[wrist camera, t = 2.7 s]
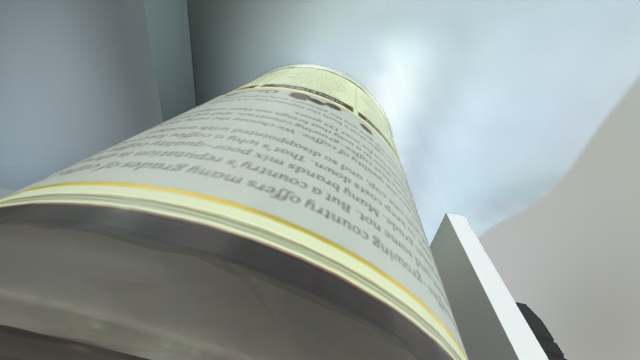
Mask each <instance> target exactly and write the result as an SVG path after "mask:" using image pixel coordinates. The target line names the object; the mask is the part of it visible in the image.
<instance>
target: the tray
mask: <svg viewBox="0 0 640 360" xmlns="http://www.w3.org/2000/svg"><path fill="white" fill-rule="evenodd" d="M195 107H196V98H195V87H194V75H193V64H192V53H191V42H190V31H189V19H188V8H187V0H0V199H1V198H3V197H5V196H7V195H9V194H12V193H14V192H16V191H18V190H20V189H22V188H24V187H26V186H29V185H31V184H33V183H35V182H37V181H39V180H41V179H43V178H46V177H48V176H50V175H52V174H54V173H56V172H58V171H61V170H63V169H65V168H67V167H69V166H71V165H73V164H76V163H78V162H80V161H82V160H84V159H86V158H88V157H91V156H93V155H95V154H97V153H99V152H101V151H103V150H106V149H108V148H110V147H112V146H114V145H116V144H118V143H121V142H123V141H125V140H127V139H129V138H131V137H133V136H136V135H138V134H140V133H142V132H144V131H146V130H148V129H151V128H153V127H155V126H157V125H159V124H161V123H163V122H166V121H168V120H170V119H172V118H174V117H176V116H178V115H180V114H183V113H185V112H187V111H189V110H191V109H193V108H195Z"/></svg>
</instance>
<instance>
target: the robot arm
mask: <svg viewBox="0 0 640 360" xmlns="http://www.w3.org/2000/svg"><path fill="white" fill-rule="evenodd" d="M430 249H431V252H432V255H433V258H434V261H435V264H436V267H437V270H438V273H439V276H440V279H441V282H442V285H443V288H444V290H445V293H446V296H447V299H448V302H449V305H450V308H451V311H452V314H453V317H454V319H455V322H456V325H457V328H458V331H459V334H460V337H461V340H462V343H463V346H464V348H465V351H466V354H467V357H468V360H567V359H564V355H563V353H562V351H561V350H560V348H559V347H558V345H557V344H556V343H554V341H553V340H554V339H553V337H552V336H551V334H550V333H549V331H548V330H547V328H546V326H545V325H544V323H543V322H542V320H541V319H539V317H538V316H537V315H536V314H535V313H533V311H532V310H531V309H530V308H529V307H527V305H526V304H521V303H517V302H515V301H514V300H513V298H512V296H511V295H510V293H509V291H508V290H507V288H506V286H505V285H504V283H503V281H502V279H501V278H500V276H499V274H498V273H497V271H496V269H495V267H494V266H493V264H492V262H491V261H490V259H489V257H488V256H487V254H486V252H485V250H484V249H483V247H482V245H481V244H480V242H479V240H478V239H477V237H476V235H475V233H474V232H473V230H472V228H471V227H470V225H469V223H468V222H467V220H466V218H465V216H460V215H455V214H450V213H446V214H445V216H444V218H443V220H442V222H441V225H440V227H439V229H438V231H437V233H436V235H435V237H434V239H433V241H432V243H431V245H430Z"/></svg>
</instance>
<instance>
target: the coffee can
mask: <svg viewBox="0 0 640 360" xmlns="http://www.w3.org/2000/svg"><path fill="white" fill-rule="evenodd" d="M0 360H468V357H467V354H466V351H465V348H464V346H463V343H462V340H461V337H460V334H459V331H458V328H457V325H456V322H455V319H454V317H453V314H452V311H451V308H450V305H449V302H448V299H447V296H446V293H445V290H444V288H443V285H442V282H441V279H440V276H439V273H438V270H437V267H436V264H435V261H434V258H433V255H432V252H431V249H430V247H429V244H428V241H427V238H426V235H425V232H424V230H423V227H422V224H421V221H420V218H419V215H418V212H417V209H416V206H415V203H414V200H413V197H412V194H411V191H410V188H409V185H408V182H407V179H406V176H405V173H404V171H403V168H402V165H401V162H400V159H399V156H398V153H397V150H396V147H395V144H394V141H393V139H392V132H391V128H390V125H389V122H388V119H387V117H386V115H385V113H384V111H383V109H382V107H381V106H380V104H379V103H378V102H377V100H376V99H375V97H374V96H373V95H372V94H371V93H370V92H369V91H368V90H367V89H366V88H365V87H364V86H363V85H362V84H360V83H359V82H358V81H356V80H355V79H354V78H352V77H351V76H349V75H347V74H345V73H343V72H340V71H337V70H335V69H333V68H329V67H326V66H320V65H314V64H294V65H287V66H283V67H279V68H275V69H273V70H271V71H269V72H267V73H265V74H263V75H261V76H259V77H258V78H256V79H255V80H254V81H252V82H250V83H248V84H245V85H243V86H241V87H239V88H237V89H234V90H232V91H230V92H228V93H226V94H224V95H221V96H218V97H216V98H214V99H212V100H210V101H208V102H206V103H204V104H202V105H199V106H197V107H195V108H193V109H191V110H189V111H187V112H185V113H183V114H180V115H178V116H176V117H174V118H172V119H170V120H168V121H166V122H163V123H161V124H159V125H157V126H155V127H153V128H151V129H148V130H146V131H144V132H142V133H140V134H138V135H136V136H133V137H131V138H129V139H127V140H125V141H123V142H121V143H118V144H116V145H114V146H112V147H110V148H108V149H106V150H103V151H101V152H99V153H97V154H95V155H93V156H91V157H88V158H86V159H84V160H82V161H80V162H78V163H76V164H73V165H71V166H69V167H67V168H65V169H63V170H61V171H58V172H56V173H54V174H52V175H50V176H48V177H46V178H43V179H41V180H39V181H37V182H35V183H33V184H31V185H29V186H26V187H24V188H22V189H20V190H18V191H16V192H14V193H12V194H9V195H7V196H5V197H3V198H1V199H0Z"/></svg>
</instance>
